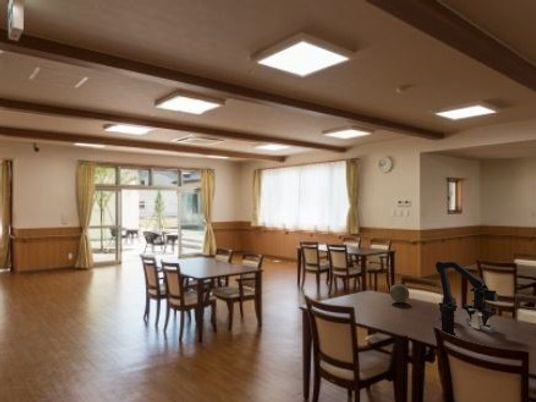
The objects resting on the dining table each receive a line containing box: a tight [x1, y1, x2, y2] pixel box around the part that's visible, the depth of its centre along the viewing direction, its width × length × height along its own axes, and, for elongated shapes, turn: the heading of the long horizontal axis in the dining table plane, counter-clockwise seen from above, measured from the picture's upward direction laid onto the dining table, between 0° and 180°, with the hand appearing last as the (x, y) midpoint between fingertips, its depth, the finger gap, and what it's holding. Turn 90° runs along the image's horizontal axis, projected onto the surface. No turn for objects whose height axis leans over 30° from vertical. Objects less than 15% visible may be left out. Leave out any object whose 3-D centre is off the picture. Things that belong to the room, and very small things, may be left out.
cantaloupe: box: [389, 283, 410, 304], centre depth 316 cm, size 14×14×15 cm
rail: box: [465, 316, 497, 335], centre depth 254 cm, size 3×20×4 cm, turn 17°
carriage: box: [471, 313, 487, 330], centre depth 256 cm, size 6×5×8 cm
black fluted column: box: [438, 302, 458, 338], centre depth 235 cm, size 8×8×20 cm
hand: (478, 323), depth 256 cm, fingers open, 9 cm apart
